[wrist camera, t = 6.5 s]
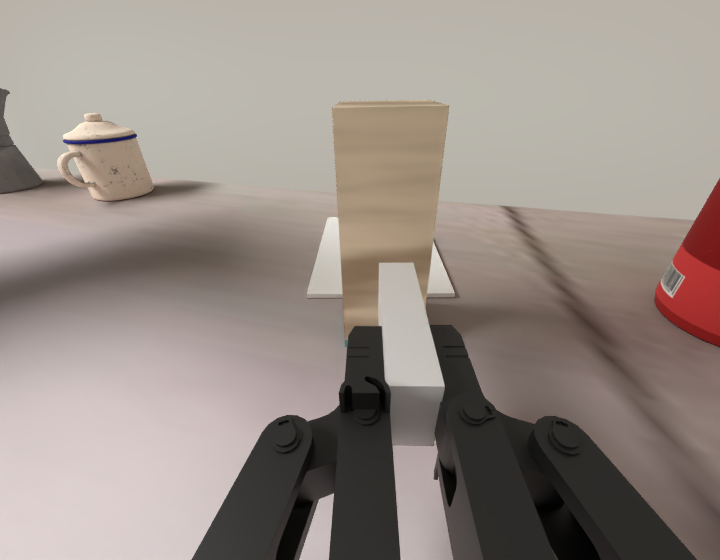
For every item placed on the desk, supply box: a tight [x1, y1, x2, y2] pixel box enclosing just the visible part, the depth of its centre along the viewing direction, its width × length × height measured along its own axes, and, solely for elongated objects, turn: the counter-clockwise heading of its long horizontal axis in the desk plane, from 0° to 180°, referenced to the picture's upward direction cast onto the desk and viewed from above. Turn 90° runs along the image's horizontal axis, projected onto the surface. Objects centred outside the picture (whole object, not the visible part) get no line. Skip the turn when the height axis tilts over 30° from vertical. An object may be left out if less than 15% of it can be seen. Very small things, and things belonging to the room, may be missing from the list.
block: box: [332, 100, 449, 347], centre depth 19 cm, size 5×5×14 cm
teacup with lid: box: [57, 113, 154, 201], centre depth 47 cm, size 12×9×12 cm
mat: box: [306, 217, 455, 298], centre depth 33 cm, size 17×12×1 cm
